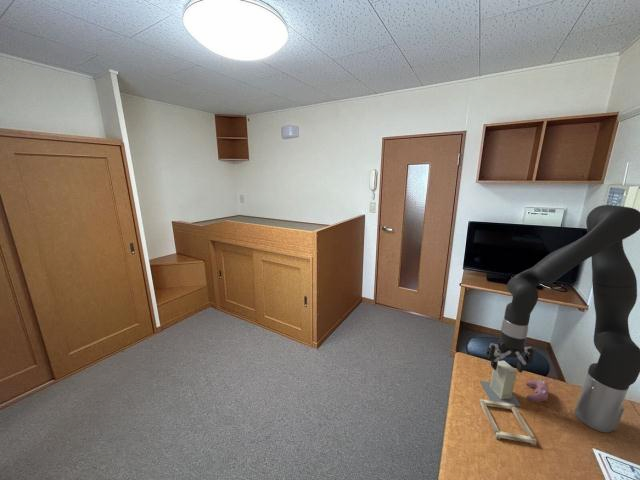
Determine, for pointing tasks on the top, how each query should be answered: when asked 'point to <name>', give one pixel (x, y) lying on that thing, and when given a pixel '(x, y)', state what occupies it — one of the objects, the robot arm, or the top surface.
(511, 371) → the skincare box
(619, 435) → the top surface
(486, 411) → the wooden rectangular frame
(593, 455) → the top surface
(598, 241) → the robot arm
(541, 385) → the video game controller
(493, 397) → the coaster
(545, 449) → the top surface
